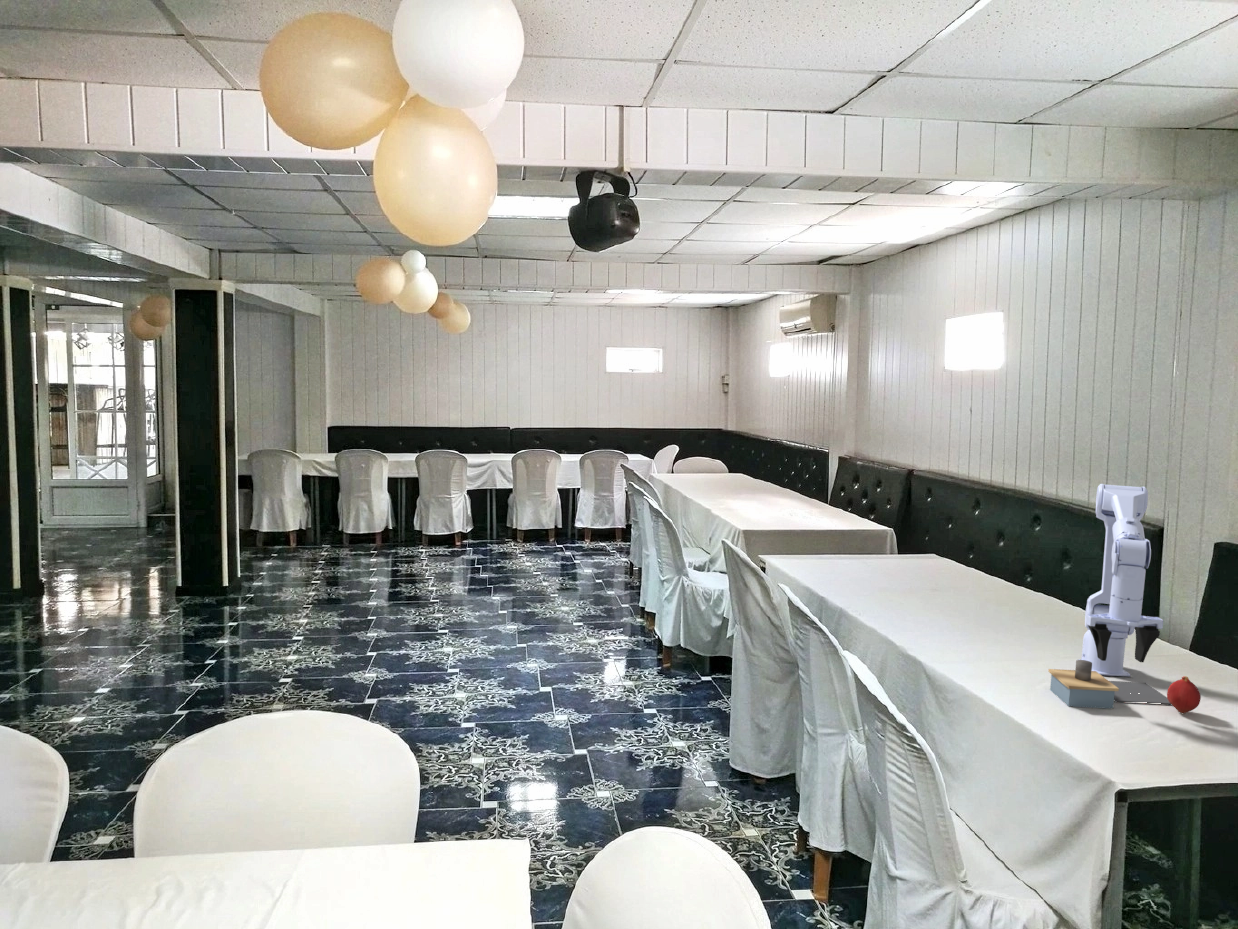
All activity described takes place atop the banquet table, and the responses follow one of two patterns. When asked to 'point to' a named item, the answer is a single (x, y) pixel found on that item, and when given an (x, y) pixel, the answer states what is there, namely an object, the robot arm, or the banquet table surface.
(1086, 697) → the blue-grey square box
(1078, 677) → the lid
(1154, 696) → the mat
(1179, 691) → the pomegranate
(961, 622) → the banquet table surface
